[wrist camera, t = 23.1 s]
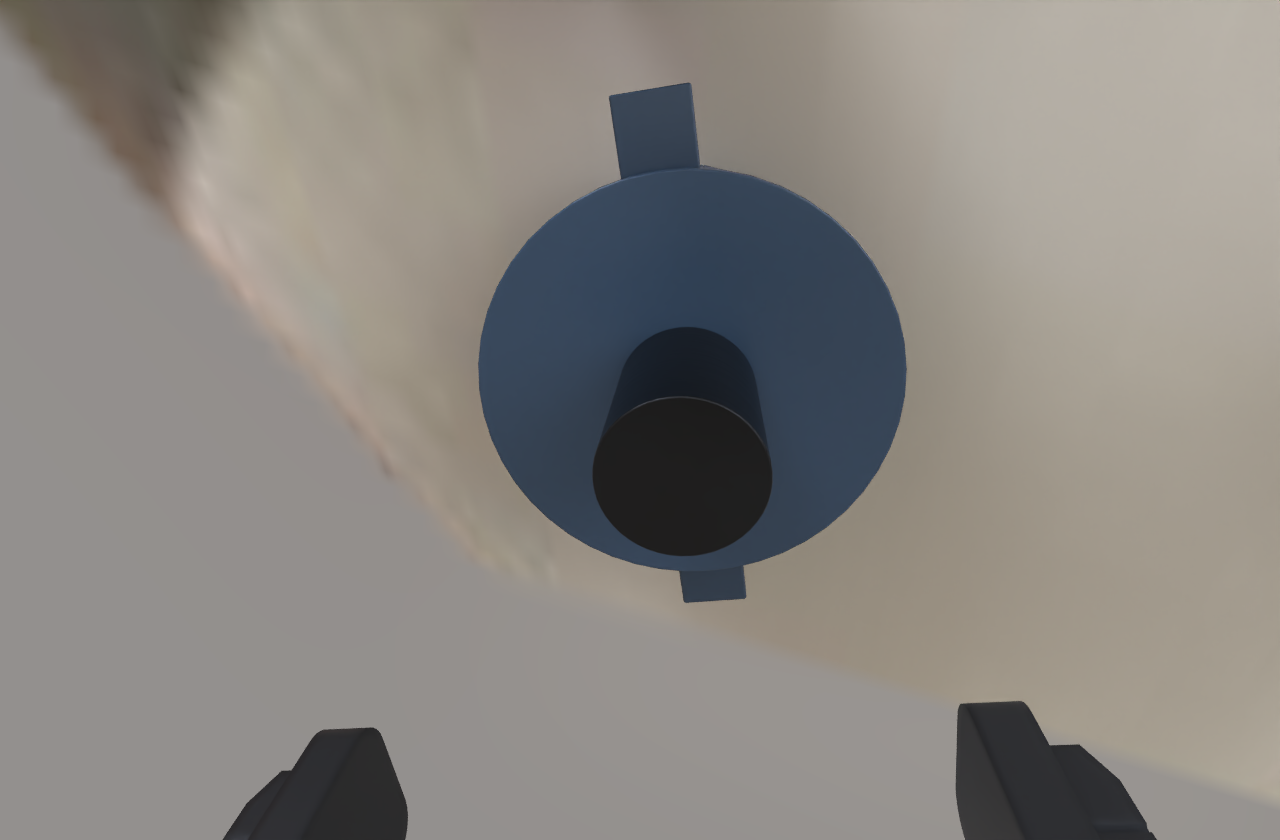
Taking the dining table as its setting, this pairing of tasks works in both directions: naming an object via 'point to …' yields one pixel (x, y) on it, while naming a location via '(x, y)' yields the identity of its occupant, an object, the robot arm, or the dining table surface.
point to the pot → (656, 140)
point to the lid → (692, 369)
